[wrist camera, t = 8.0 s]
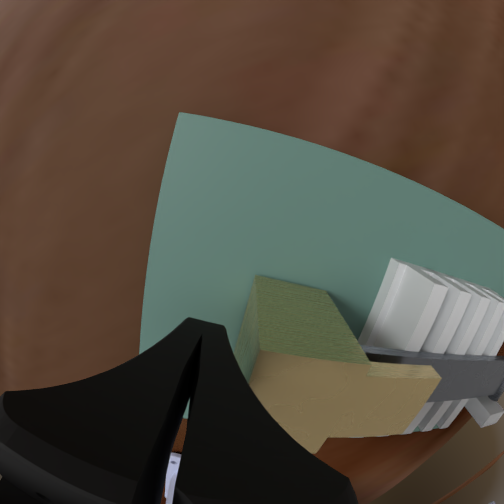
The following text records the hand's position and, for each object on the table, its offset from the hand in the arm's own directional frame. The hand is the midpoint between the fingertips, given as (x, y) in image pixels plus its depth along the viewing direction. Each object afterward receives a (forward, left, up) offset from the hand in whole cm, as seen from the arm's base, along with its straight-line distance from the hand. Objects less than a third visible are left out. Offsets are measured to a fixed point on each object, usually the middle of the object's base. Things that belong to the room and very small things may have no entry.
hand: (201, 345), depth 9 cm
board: (0, -9, -4) cm, 10 cm away
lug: (0, -5, -3) cm, 5 cm away
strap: (0, -11, 0) cm, 11 cm away
